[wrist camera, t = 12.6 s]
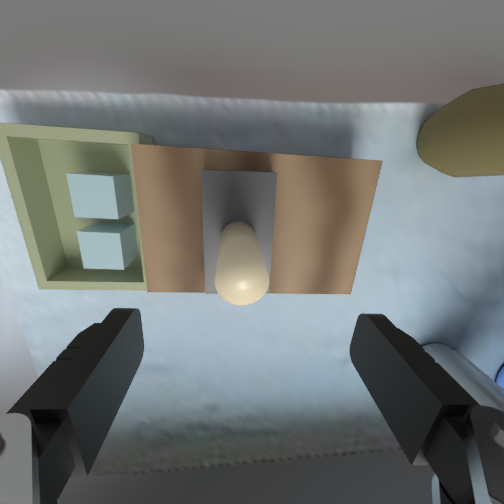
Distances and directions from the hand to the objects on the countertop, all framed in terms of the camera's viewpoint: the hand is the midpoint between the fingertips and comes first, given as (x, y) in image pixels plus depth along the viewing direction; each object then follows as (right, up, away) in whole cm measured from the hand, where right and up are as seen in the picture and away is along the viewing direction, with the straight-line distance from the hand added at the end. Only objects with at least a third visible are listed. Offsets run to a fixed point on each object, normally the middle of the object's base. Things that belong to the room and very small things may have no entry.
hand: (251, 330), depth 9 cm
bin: (-17, +8, +18) cm, 26 cm away
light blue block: (-13, +4, +17) cm, 22 cm away
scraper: (-1, +5, +14) cm, 15 cm away
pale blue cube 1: (-13, +9, +15) cm, 22 cm away
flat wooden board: (0, +7, +20) cm, 21 cm away
